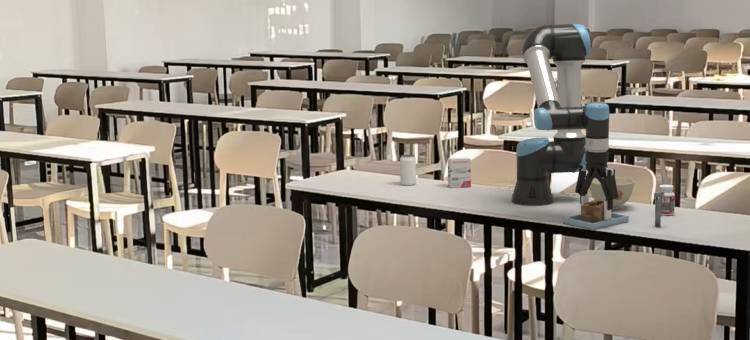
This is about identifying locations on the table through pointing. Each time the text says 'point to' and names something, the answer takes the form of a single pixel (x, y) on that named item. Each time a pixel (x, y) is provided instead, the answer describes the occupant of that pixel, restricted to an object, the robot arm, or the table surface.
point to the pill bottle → (667, 200)
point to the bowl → (623, 191)
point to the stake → (658, 208)
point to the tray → (614, 220)
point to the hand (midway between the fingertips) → (596, 216)
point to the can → (407, 170)
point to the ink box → (459, 172)
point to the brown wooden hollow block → (593, 211)
